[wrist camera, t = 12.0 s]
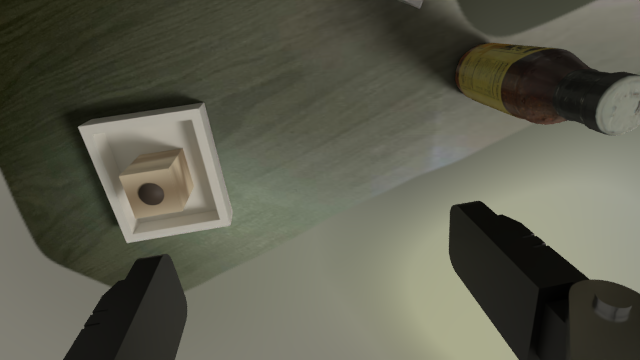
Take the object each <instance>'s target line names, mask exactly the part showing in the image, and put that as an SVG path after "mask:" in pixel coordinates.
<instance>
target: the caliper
mask: <svg viewBox="0 0 640 360" xmlns="http://www.w3.org/2000/svg"><path fill="white" fill-rule="evenodd" d="M398 1H400V2H403V3H405V4H408V5H411V6H413V7H416V8H418V9H420V8H421V5H422V2H423V0H398Z"/></svg>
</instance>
